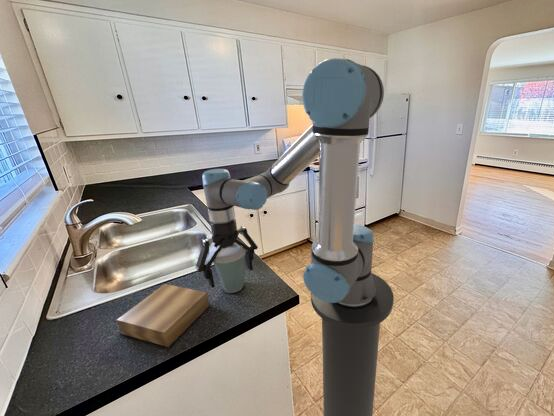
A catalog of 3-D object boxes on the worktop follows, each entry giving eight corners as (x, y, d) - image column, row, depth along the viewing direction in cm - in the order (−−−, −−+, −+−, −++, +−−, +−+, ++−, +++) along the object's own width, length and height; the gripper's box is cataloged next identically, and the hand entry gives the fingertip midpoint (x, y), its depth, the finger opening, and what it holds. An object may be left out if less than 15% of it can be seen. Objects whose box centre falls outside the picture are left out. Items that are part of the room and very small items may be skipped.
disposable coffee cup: (222, 301, 85) (215, 261, 80) (213, 284, 93) (206, 247, 88) (254, 288, 91) (249, 250, 85) (243, 273, 99) (238, 237, 93)
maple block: (209, 305, 83) (206, 292, 82) (168, 347, 69) (164, 332, 67) (168, 296, 88) (164, 283, 86) (121, 334, 73) (116, 319, 72)
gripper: (252, 206, 93) (258, 258, 101) (175, 227, 77) (189, 288, 85) (264, 212, 88) (269, 266, 96) (184, 236, 72) (198, 299, 80)
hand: (231, 276), depth 90 cm, fingers open, 13 cm apart
